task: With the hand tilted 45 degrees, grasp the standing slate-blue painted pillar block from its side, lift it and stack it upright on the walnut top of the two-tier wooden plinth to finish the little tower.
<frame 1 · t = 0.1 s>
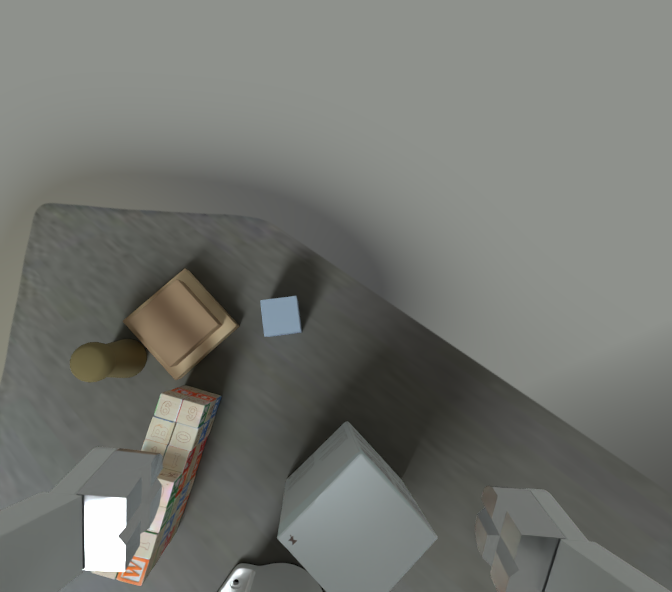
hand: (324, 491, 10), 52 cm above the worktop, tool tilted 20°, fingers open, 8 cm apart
stack of blocks: (180, 457, 58), on the worktop
plinth: (185, 323, 60), on the worktop
pillar: (284, 319, 62), on the worktop
supplement box: (344, 479, 60), on the worktop
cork: (127, 358, 59), on the worktop
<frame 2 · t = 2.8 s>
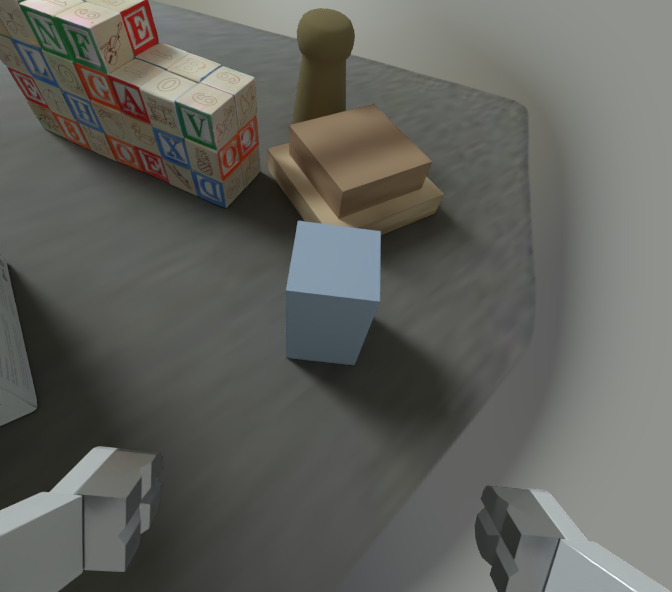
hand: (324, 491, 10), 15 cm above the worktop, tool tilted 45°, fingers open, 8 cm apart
stack of blocks: (152, 152, 38), on the worktop
plinth: (350, 191, 37), on the worktop
pillar: (323, 331, 29), on the worktop
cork: (318, 130, 42), on the worktop
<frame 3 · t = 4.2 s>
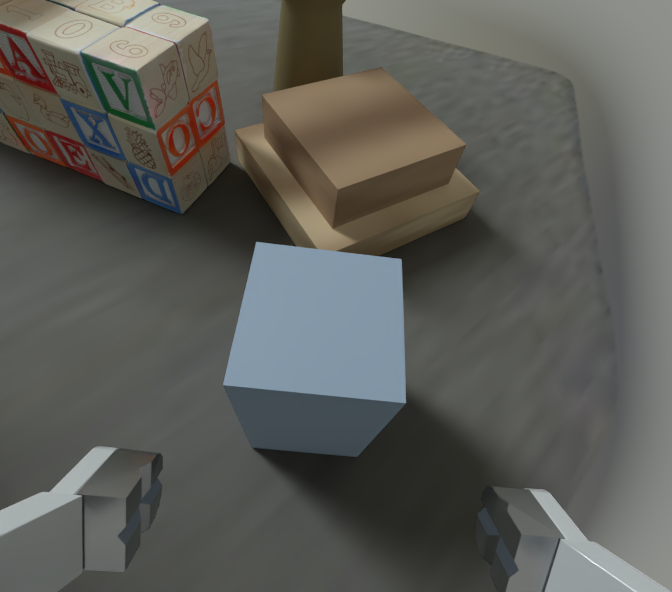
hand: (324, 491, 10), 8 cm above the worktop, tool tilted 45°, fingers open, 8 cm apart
stack of blocks: (83, 140, 28), on the worktop
plinth: (350, 188, 28), on the worktop
pillar: (310, 399, 19), on the worktop
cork: (307, 108, 32), on the worktop
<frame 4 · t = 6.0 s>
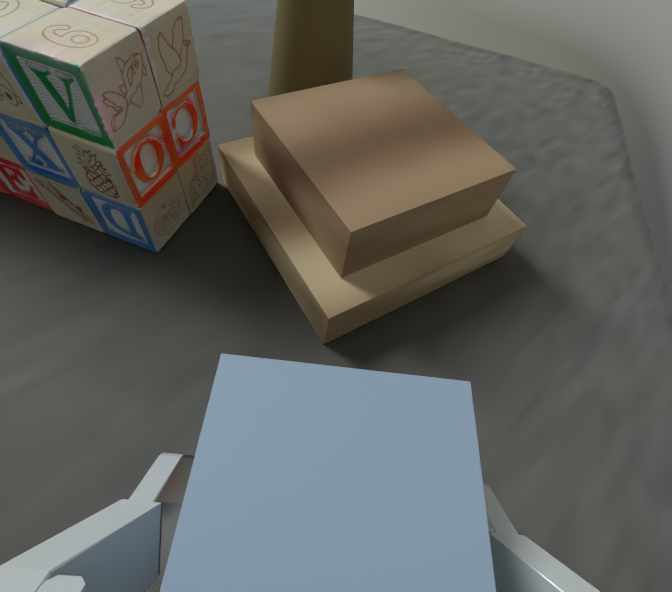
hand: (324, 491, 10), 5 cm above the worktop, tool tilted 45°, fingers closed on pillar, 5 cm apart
stack of blocks: (32, 158, 22), on the worktop
plinth: (361, 218, 22), on the worktop
pillar: (309, 526, 14), on the worktop, touching gripper
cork: (309, 118, 27), on the worktop
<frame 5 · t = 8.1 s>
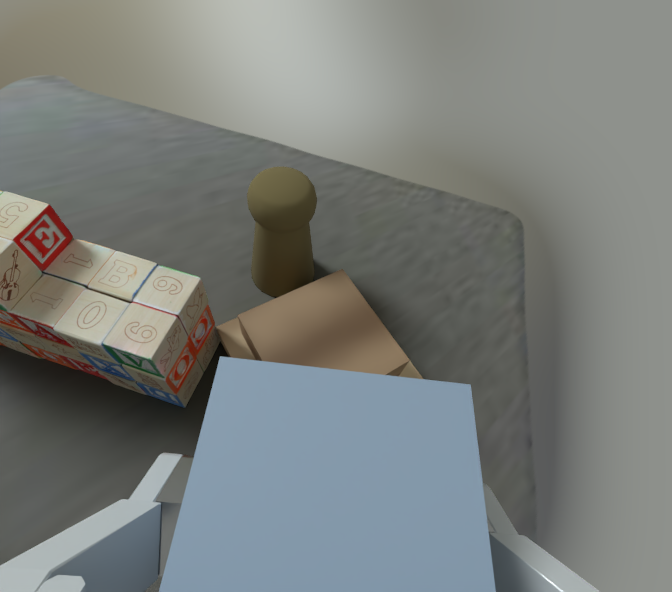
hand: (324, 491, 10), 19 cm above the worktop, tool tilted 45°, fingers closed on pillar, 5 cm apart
stack of blocks: (86, 333, 31), on the worktop
plinth: (317, 366, 32), on the worktop
pillar: (309, 528, 14), point 14 cm above the worktop, touching gripper
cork: (283, 272, 37), on the worktop
when the fingers open (12 cm above the worktop, at t = 10.6 s): pillar drops 1 cm, resting on plinth.
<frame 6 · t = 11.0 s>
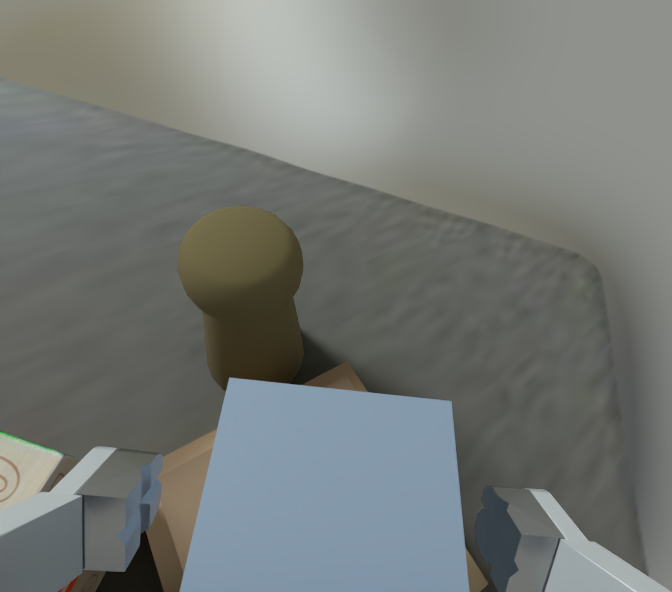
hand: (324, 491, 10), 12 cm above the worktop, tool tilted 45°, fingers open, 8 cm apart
plinth: (303, 529, 19), on the worktop
pillar: (308, 528, 15), point 5 cm above the worktop, touching plinth
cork: (256, 353, 24), on the worktop
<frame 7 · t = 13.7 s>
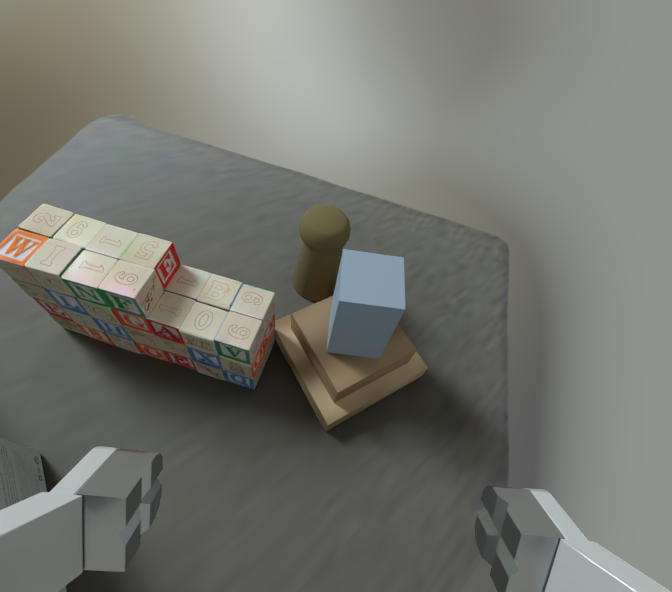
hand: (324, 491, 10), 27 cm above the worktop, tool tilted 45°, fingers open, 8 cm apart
stack of blocks: (172, 335, 41), on the worktop
plinth: (345, 354, 42), on the worktop
pillar: (354, 332, 37), point 5 cm above the worktop, touching plinth
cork: (317, 282, 47), on the worktop
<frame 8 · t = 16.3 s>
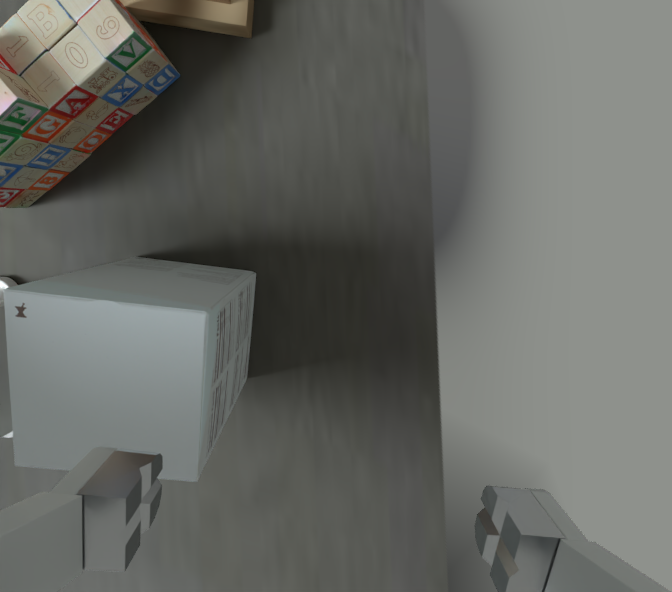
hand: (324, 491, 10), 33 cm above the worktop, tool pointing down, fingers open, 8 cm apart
stack of blocks: (82, 119, 38), on the worktop
supplement box: (194, 319, 43), on the worktop
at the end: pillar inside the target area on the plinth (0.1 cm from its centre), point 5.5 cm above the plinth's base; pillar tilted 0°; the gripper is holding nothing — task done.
